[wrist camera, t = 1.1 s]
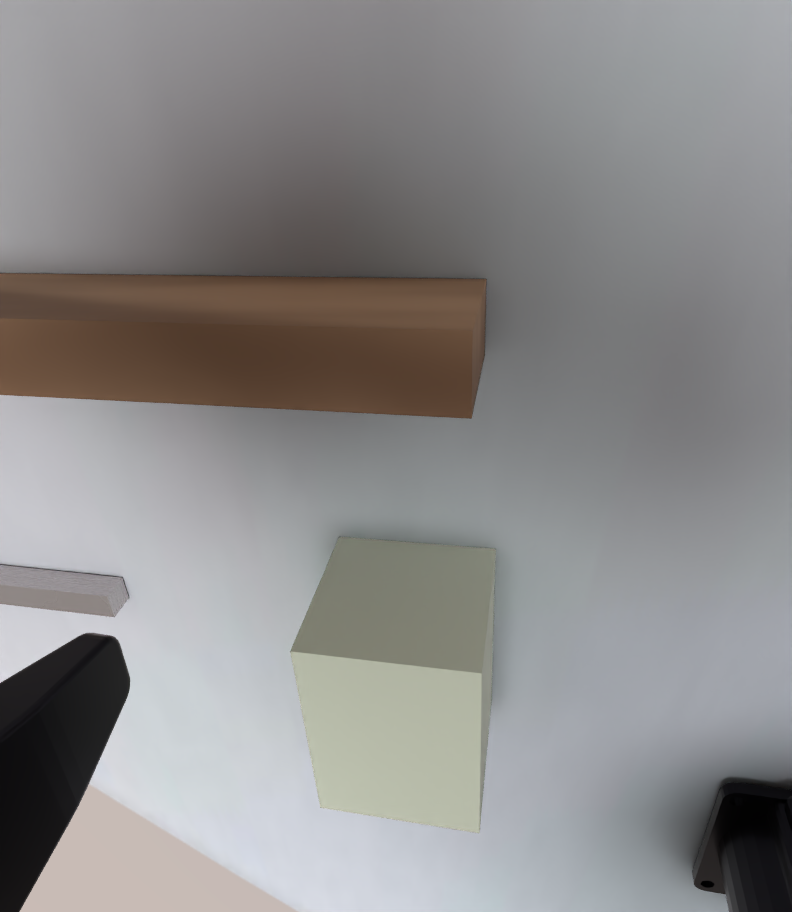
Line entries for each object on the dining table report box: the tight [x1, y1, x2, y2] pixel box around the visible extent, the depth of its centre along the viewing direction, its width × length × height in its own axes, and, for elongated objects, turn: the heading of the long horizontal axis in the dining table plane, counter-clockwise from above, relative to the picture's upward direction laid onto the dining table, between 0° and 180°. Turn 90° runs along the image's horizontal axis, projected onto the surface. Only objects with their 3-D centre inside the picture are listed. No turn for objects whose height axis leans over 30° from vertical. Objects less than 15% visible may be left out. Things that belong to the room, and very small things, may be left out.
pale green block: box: [290, 537, 496, 833], centre depth 21 cm, size 8×5×5 cm, turn 3°
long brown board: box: [0, 273, 486, 418], centre depth 18 cm, size 2×24×4 cm, turn 93°
